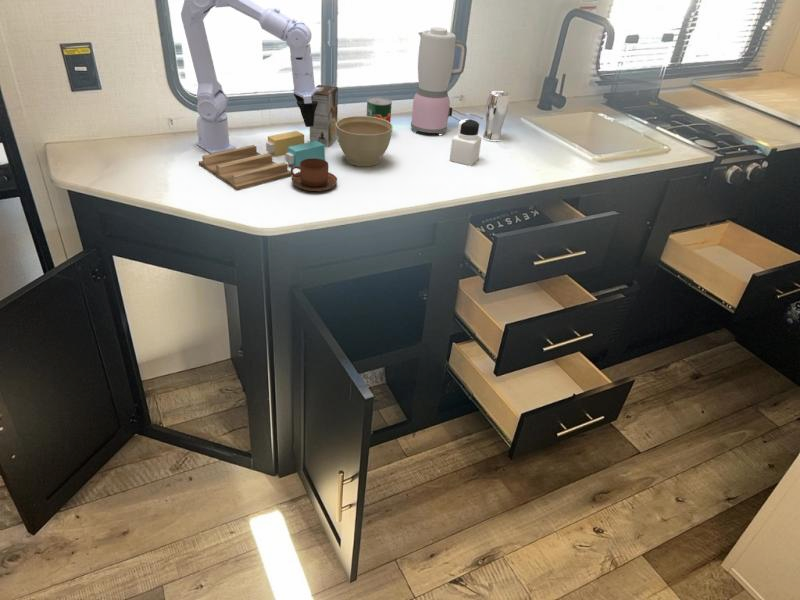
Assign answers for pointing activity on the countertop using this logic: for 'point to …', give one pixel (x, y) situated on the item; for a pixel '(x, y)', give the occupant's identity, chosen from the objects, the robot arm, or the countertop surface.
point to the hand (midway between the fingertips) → (307, 122)
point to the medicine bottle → (466, 143)
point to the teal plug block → (305, 152)
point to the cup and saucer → (313, 175)
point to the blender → (435, 79)
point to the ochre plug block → (283, 142)
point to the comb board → (246, 184)
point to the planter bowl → (363, 139)
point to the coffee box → (325, 115)
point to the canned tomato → (379, 108)
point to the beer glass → (495, 114)
